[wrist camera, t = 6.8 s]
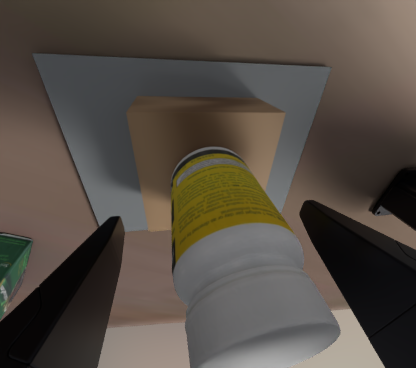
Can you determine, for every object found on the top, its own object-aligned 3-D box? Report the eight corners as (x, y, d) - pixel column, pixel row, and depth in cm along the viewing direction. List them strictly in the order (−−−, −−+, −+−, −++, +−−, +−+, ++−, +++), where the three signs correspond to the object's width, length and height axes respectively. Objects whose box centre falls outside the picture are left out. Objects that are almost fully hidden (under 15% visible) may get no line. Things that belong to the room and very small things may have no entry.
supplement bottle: (153, 169, 11) (128, 377, 4) (230, 128, 10) (363, 286, 3) (193, 220, 13) (221, 396, 6) (256, 191, 13) (357, 348, 6)
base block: (257, 97, 13) (285, 112, 10) (241, 190, 18) (257, 221, 15) (137, 96, 12) (126, 112, 9) (152, 196, 17) (148, 231, 13)
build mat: (327, 66, 13) (331, 67, 13) (277, 214, 21) (279, 216, 21) (36, 53, 10) (31, 53, 10) (103, 230, 18) (102, 233, 18)
